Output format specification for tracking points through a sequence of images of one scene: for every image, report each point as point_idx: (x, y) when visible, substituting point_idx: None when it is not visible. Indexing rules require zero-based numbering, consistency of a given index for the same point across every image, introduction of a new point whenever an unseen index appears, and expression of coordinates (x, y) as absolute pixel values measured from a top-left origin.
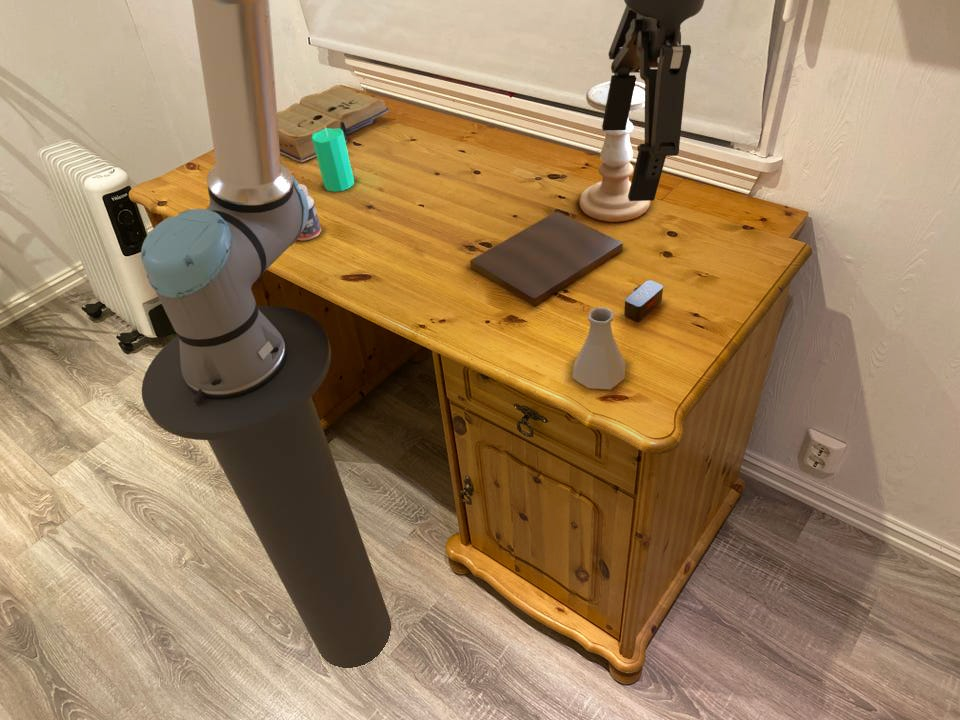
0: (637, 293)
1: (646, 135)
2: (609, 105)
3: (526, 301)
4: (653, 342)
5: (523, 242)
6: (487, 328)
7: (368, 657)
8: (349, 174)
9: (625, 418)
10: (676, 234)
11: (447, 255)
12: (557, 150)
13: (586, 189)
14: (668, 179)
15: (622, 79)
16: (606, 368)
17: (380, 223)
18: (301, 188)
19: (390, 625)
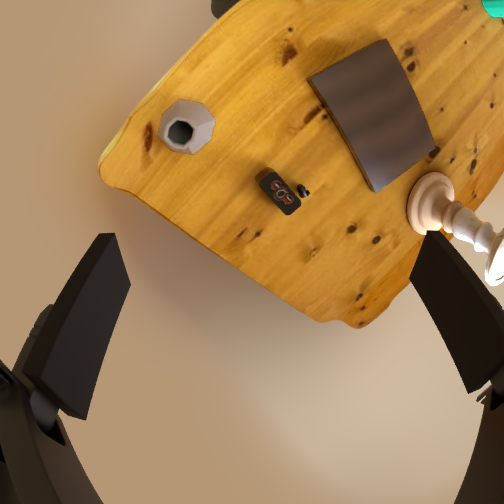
0: (281, 186)
1: (11, 417)
2: (464, 282)
3: (316, 73)
4: (224, 187)
5: (402, 97)
6: (279, 27)
7: (213, 13)
8: (494, 11)
9: (122, 146)
10: (374, 243)
11: (401, 28)
12: (493, 179)
13: (451, 184)
14: None
15: (491, 366)
16: (162, 133)
17: (447, 2)
18: None
19: None
